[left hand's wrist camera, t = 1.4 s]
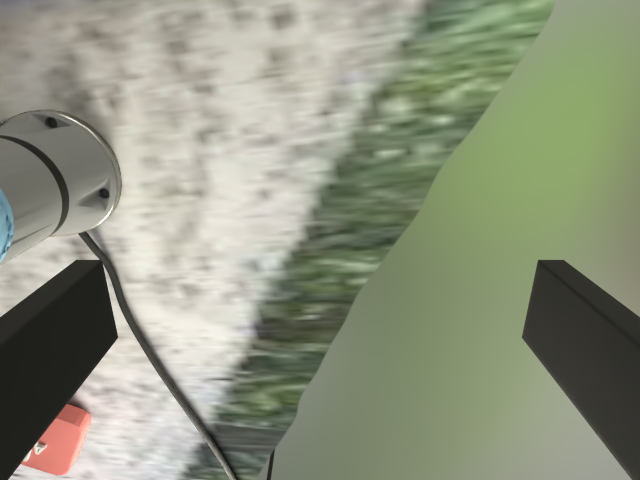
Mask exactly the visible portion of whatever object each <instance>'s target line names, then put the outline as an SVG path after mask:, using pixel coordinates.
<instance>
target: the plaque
mask: <svg viewBox="0 0 640 480" xmlns="http://www.w3.org/2000/svg"><path fill="white" fill-rule="evenodd" d="M90 423H91V418H90V415H89V414H88V413H87V412H86V411H85V410H83V409H80V408H77V407H75V406H72V405H69V404H66V405H65V407H64V408H63V409H62V411H61V412H60V413H59V414H58V416H57V417H56V418H55V420H54V421H53V422H52V424H51V425H50V426H49V427H48V429H47V430H46V431H45V433H44V434H43V435H42V436H41V438H40V439H39V440H38V442H37V443H36V444H35V445H34V447H33V448H32V449H31V451H30V452H29V453H28V455H27V456H26V457H25V458H24V460H23V461H22V462H21V464H22V465H25V466H29V467H32V468H35V469H38V470H41V471H44V472H48V473H51V474H54V475H63V474H66V473H67V472H68V471H69V470H70V468H71V467H72V465H73V463H74V462H75V460H76V459H77V457H78V455H79V453H80V450H81V448H82V445H83V442H84V440H85V437H86V434H87V431H88V429H89V426H90Z"/></svg>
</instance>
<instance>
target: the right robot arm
mask: <svg viewBox="0 0 640 480" xmlns="http://www.w3.org/2000/svg"><path fill="white" fill-rule="evenodd" d="M2 121H3V120H2ZM2 121H1V122H2ZM1 122H0V123H1ZM121 186H122V183H121V173H120V169H119V165H118V162H117V160H116V157H115V155H114V153H113V151H112V150H111V148H110V147H109V145H108V144H107V142H106V141H105V140H104V139H103V137H102V136H101V135H100V134H99V133H98V132H97V131H96V130H94V129H93V128H92V127H91V126H89V125H88V124H87V123H85V122H84V121H82V120H80V119H78V118H76V117H74V116H72V115H69V114H66V113H63V112H59V111H53V110H38V111H30V112H25V113H21V114H18V115H16V116H13V117H11V118H9V119H7V120H5V121H4V122H3V123H1V124H0V265H2V264H4V263H5V262H7V261H9V260H10V259H12V258H14V257H16V256H17V255H19V254H21V253H22V252H24V251H26V250H27V249H29V248H31V247H32V246H34V245H36V244H37V243H39V242H41V241H42V240H44V239H46V238H47V237H55V236H66V235H74V234H79V235H80V237H81V238H82V239H83V240H84V242H85V243H86V244H87V245H88V247H89V248H90V249H91V250H92V251H93V253H94V254H95V255H96V256H97V257H98V258H99V259H100V260H102V263H103V264H104V266H105V268H106V270H107V272H108V274H109V276H110V279H111V281H112V284H113V287H114V291H115V294H116V297H117V300H118V303H119V305H120V308H121V310H122V312H123V315H124V317H125V319H126V321H127V323H128V324H129V326H130V328H131V330H132V332H133V334H134V335H135V337H136V339H137V340H138V342H139V344H140V345H141V347H142V349H143V350H144V352H145V353H146V355H147V357H148V358H149V360H150V362H151V363H152V365H153V366H154V368H155V369H156V371H157V372H158V374H159V375H160V377H161V378H162V380H163V381H164V383H165V384H166V386H167V387H168V389H169V390H170V391H171V393H172V394H173V396H174V397H175V399H176V400H177V401H178V403H179V404H180V406H181V407H182V408H183V410H184V411H185V412H186V414H187V415H188V417H189V418H190V419H191V421H192V422H193V424H194V425H195V426H196V428H197V429H198V431H199V432H200V434H201V435H202V436H203V438H204V439H205V441H206V442H207V443H208V445H209V446H210V448H211V449H212V451H213V452H214V454H215V455H216V457H217V459H218V460H219V462H220V463H221V465H222V466H223V468H224V470H225V471H226V473H227V475H228V476H229V478H230V480H237V479H236V477H235V476H234V474H233V472H232V470H231V469H230V467H229V465H228V464H227V462H226V460H225V459H224V457H223V456H222V454H221V452H220V451H219V449H218V448H217V446H216V445H215V443H214V442H213V440H212V439H211V437H210V436H209V434H208V433H207V432H206V430H205V429H204V427H203V426H202V424H201V423H200V422H199V420H198V419H197V417H196V416H195V414H194V413H193V412H192V410H191V409H190V407H189V406H188V405H187V403H186V402H185V400H184V399H183V398H182V396H181V395H180V393H179V392H178V390H177V389H176V387H175V386H174V385H173V383H172V382H171V380H170V379H169V377H168V376H167V374H166V373H165V371H164V370H163V368H162V367H161V365H160V364H159V362H158V360H157V359H156V357H155V356H154V354H153V352H152V351H151V349H150V347H149V346H148V344H147V342H146V341H145V339H144V337H143V336H142V334H141V332H140V331H139V329H138V327H137V325H136V323H135V321H134V319H133V317H132V315H131V313H130V311H129V309H128V307H127V304H126V302H125V299H124V296H123V293H122V290H121V286H120V283H119V280H118V277H117V275H116V272H115V270H114V268H113V266H112V264H111V262H110V260H109V259H108V258H107V256H106V255H105V254H104V253H103V252H102V251H101V249H100V248H99V247H98V246H97V245H96V243H95V242H94V241H93V240H92V238H91V237H90V236H89V235H88V233H87V232H86V231H87V230H90V229H92V228H94V227H96V226H97V225H99V224H100V223H102V222H103V221H104V220H106V219H107V218H108V217H109V216H110V215H111V214H112V212H113V211H114V209H115V208H116V206H117V204H118V201H119V198H120V194H121ZM274 453H275V449H274V450H273V452H272V453H271V455H270V460H269V467H268V473H267V479H266V480H271V475H272V468H273V461H274Z"/></svg>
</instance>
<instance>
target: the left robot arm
mask: <svg viewBox="0 0 640 480" xmlns="http://www.w3.org/2000/svg"><path fill="white" fill-rule="evenodd" d="M117 338H118V335H117V330H116V325H115V320H114V316H113V311H112V306H111V301H110V297H109V292H108V287H107V282H106V278H105V273H104V268H103V263H102V260H76V261H74V262H73V263H72V264H70V265H69V266H68V267H66V268H65V269H64V270H62V271H61V272H60V273H58V274H57V275H56V276H54V277H53V278H52V279H51V280H49V281H48V282H47V283H45V284H44V285H43V286H41V287H40V288H39V289H37V290H36V291H35V292H33V293H32V294H31V295H29V296H28V297H27V298H25V299H24V300H23V301H21V302H20V303H19V304H17V305H16V306H15V307H13V308H12V309H11V310H9V311H8V312H7V313H5V314H4V315H3V316H1V317H0V480H8V479H9V478H10V477H11V475H12V474H13V473H14V471H15V470H16V469H17V467H18V466H19V465H20V464H21V462H22V461H23V460H24V458H25V457H26V456H27V455H28V453H29V452H30V451H31V449H32V448H33V447H34V445H35V444H36V443H37V442H38V440H39V439H40V438H41V436H42V435H43V434H44V433H45V431H46V430H47V429H48V427H49V426H50V425H51V424H52V422H53V421H54V420H55V418H56V417H57V416H58V414H59V413H60V412H61V411H62V409H63V408H64V407H65V405H66V404H67V403H68V402H69V400H70V399H71V398H72V396H73V395H74V394H75V393H76V391H77V390H78V389H79V387H80V386H81V385H82V383H83V382H84V381H85V380H86V378H87V377H88V376H89V374H90V373H91V372H92V371H93V369H94V368H95V367H96V365H97V364H98V363H99V362H100V360H101V359H102V358H103V356H104V355H105V354H106V352H107V351H108V350H109V349H110V347H111V346H112V345H113V343H114V342H115V341H116V340H117ZM522 338H523V340H524V341H525V342H526V343H527V345H528V346H529V347H530V349H531V350H532V351H533V352H534V354H535V355H536V356H537V358H538V359H539V360H540V362H541V363H542V364H543V365H544V367H545V368H546V369H547V371H548V372H549V373H550V374H551V376H552V377H553V378H554V380H555V381H556V382H557V383H558V385H559V386H560V387H561V389H562V390H563V391H564V393H565V394H566V395H567V396H568V398H569V399H570V400H571V401H572V403H573V404H574V405H575V407H576V408H577V409H578V411H579V412H580V413H581V414H582V416H583V417H584V418H585V420H586V421H587V422H588V424H589V425H590V426H591V427H592V429H593V430H594V431H595V433H596V434H597V435H598V436H599V438H600V439H601V440H602V442H603V443H604V444H605V445H606V447H607V448H608V449H609V451H610V452H611V453H612V455H613V456H614V457H615V458H616V460H617V461H618V462H619V463H620V465H621V466H622V467H623V469H624V470H625V471H626V473H627V474H628V475H629V477H630V478H631V479H632V480H640V317H639V316H637V315H636V314H635V313H633V312H632V311H631V310H629V309H628V308H627V307H625V306H624V305H623V304H621V303H620V302H619V301H617V300H616V299H615V298H613V297H612V296H611V295H609V294H608V293H607V292H605V291H604V290H603V289H601V288H600V287H599V286H597V285H596V284H595V283H593V282H592V281H591V280H589V279H588V278H587V277H585V276H584V275H583V274H582V273H580V272H579V271H578V270H576V269H575V268H573V267H572V266H571V265H569V264H568V263H567V262H566V261H564V260H538V263H537V268H536V273H535V278H534V282H533V287H532V292H531V297H530V301H529V307H528V311H527V316H526V321H525V326H524V330H523V335H522Z"/></svg>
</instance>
